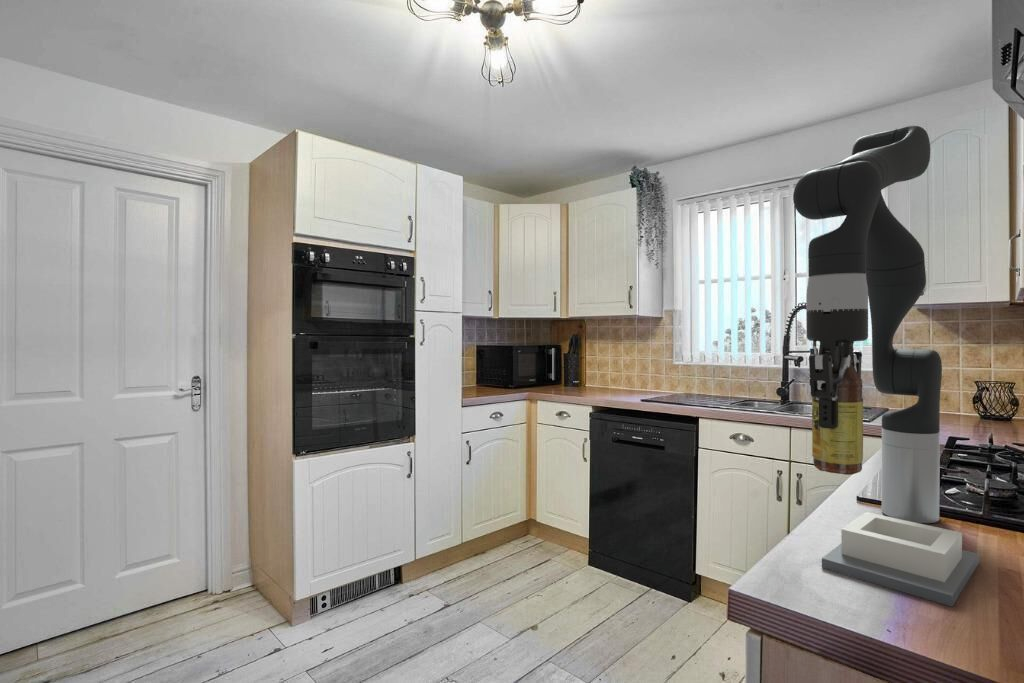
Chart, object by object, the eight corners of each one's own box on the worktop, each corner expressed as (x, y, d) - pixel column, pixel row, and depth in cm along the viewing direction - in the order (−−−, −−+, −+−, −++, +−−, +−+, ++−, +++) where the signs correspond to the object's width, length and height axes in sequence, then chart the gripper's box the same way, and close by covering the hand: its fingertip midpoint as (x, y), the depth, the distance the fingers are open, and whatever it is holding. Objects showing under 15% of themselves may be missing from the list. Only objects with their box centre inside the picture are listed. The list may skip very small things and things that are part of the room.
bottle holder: (863, 534, 97) (863, 504, 97) (979, 563, 85) (979, 528, 85) (821, 567, 84) (821, 532, 84) (952, 606, 72) (952, 566, 71)
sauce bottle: (816, 462, 81) (816, 332, 81) (865, 469, 77) (866, 331, 77) (807, 471, 76) (807, 332, 76) (859, 479, 72) (860, 332, 72)
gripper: (826, 309, 83) (826, 416, 84) (787, 308, 74) (788, 428, 74) (882, 307, 78) (882, 421, 78) (849, 305, 68) (849, 435, 69)
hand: (836, 424), depth 76 cm, fingers closed on sauce bottle, 6 cm apart
